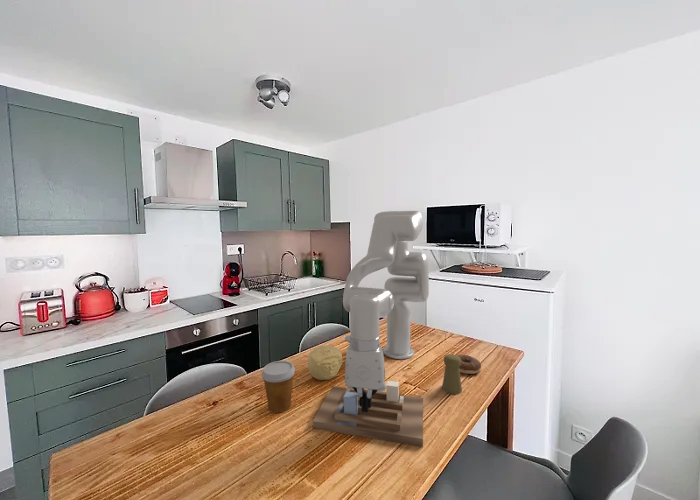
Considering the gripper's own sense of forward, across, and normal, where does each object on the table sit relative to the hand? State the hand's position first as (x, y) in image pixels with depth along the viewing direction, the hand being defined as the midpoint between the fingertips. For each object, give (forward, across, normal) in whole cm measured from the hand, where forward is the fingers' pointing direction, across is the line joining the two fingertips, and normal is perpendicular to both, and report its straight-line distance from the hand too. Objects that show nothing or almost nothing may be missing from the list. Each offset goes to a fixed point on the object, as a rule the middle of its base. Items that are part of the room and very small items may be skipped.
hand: (365, 409), depth 77 cm
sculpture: (+5, -19, +22) cm, 30 cm away
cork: (+5, +24, +23) cm, 33 cm away
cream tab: (+2, +6, +8) cm, 10 cm away
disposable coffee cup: (+5, -26, +2) cm, 27 cm away
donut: (+5, +30, +38) cm, 49 cm away
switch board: (+4, +1, +4) cm, 6 cm away
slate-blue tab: (+2, -4, 0) cm, 5 cm away
